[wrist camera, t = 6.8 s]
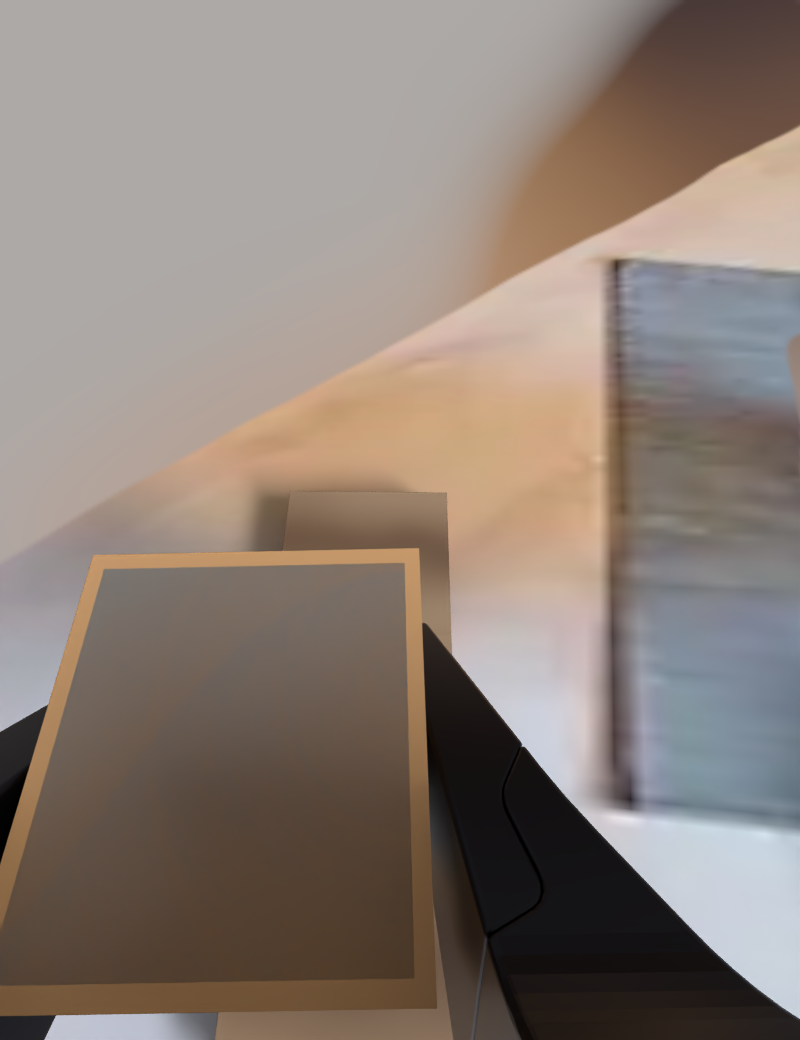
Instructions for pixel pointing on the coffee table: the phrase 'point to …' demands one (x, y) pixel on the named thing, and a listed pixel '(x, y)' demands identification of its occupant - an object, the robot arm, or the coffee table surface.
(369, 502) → the wooden socket base
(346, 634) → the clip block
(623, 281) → the coffee table surface
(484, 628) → the coffee table surface
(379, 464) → the coffee table surface
